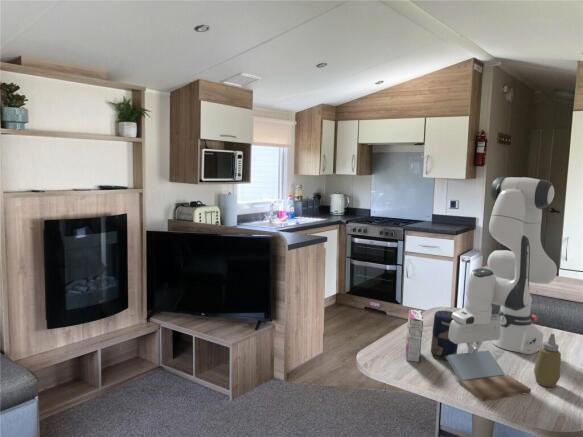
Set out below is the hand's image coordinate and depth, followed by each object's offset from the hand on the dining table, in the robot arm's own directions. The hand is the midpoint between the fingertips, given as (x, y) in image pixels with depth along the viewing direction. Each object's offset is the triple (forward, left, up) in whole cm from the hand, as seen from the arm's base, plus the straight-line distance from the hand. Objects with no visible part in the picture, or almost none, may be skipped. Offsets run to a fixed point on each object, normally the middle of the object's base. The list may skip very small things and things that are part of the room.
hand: (472, 352), depth 167 cm
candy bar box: (+13, -17, -8) cm, 23 cm away
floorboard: (0, +12, -8) cm, 14 cm away
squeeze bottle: (-21, +13, -8) cm, 26 cm away
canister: (+1, -14, -8) cm, 16 cm away
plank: (0, +2, -5) cm, 5 cm away
